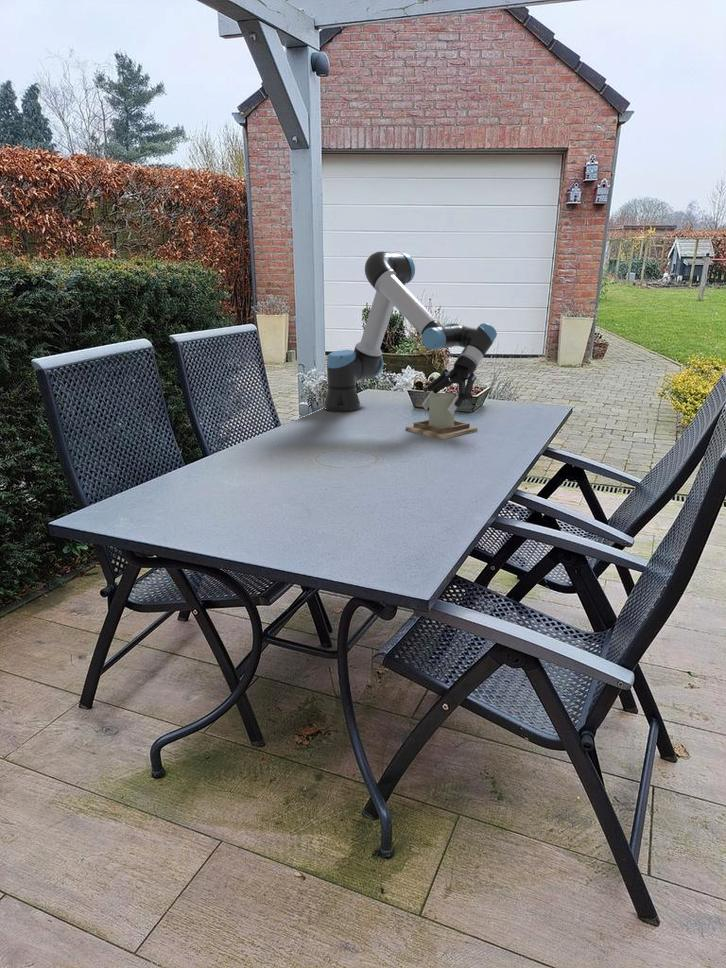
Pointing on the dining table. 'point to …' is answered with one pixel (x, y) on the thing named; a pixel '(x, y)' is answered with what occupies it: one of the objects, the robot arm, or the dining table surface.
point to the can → (440, 410)
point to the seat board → (440, 433)
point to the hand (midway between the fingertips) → (436, 410)
